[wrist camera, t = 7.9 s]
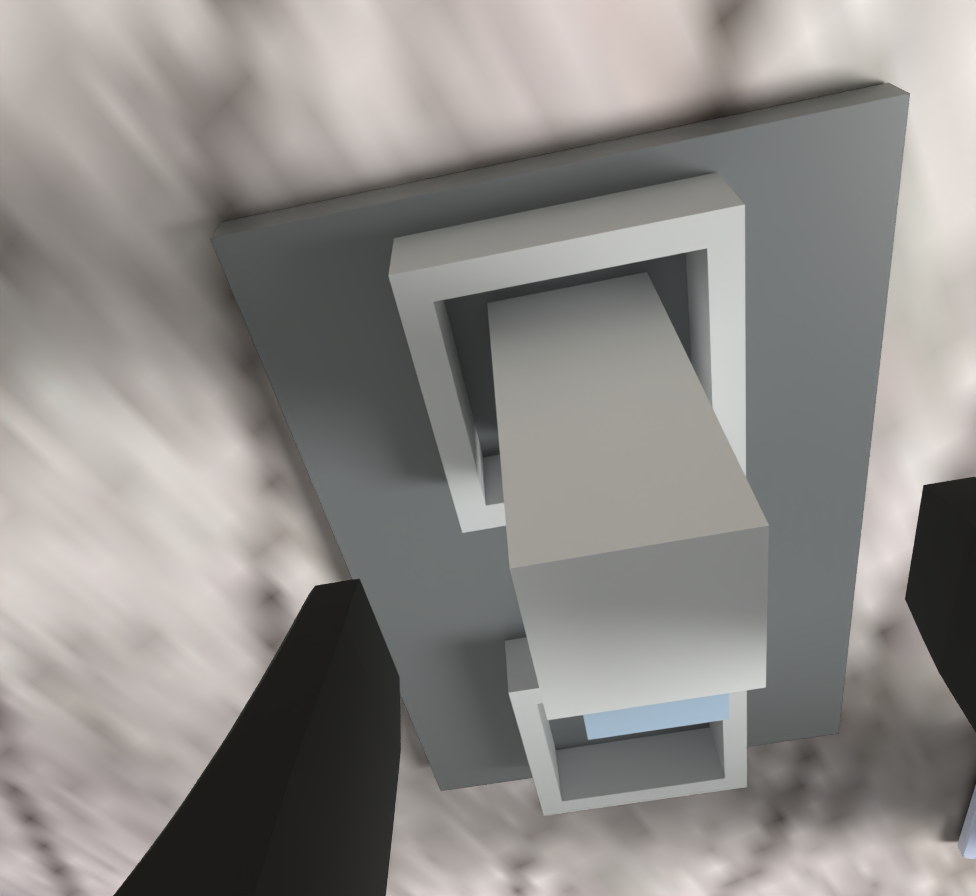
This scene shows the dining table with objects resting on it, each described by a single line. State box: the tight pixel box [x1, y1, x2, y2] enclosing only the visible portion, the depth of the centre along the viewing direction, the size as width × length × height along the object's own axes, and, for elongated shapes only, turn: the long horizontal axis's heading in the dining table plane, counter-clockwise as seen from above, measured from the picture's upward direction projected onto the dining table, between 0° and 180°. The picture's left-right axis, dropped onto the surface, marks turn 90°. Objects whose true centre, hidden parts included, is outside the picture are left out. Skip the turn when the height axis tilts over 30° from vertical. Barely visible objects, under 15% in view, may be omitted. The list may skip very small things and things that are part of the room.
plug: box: [487, 272, 769, 740], centre depth 13 cm, size 3×4×7 cm
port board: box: [210, 83, 910, 816], centre depth 19 cm, size 12×18×2 cm, turn 11°
